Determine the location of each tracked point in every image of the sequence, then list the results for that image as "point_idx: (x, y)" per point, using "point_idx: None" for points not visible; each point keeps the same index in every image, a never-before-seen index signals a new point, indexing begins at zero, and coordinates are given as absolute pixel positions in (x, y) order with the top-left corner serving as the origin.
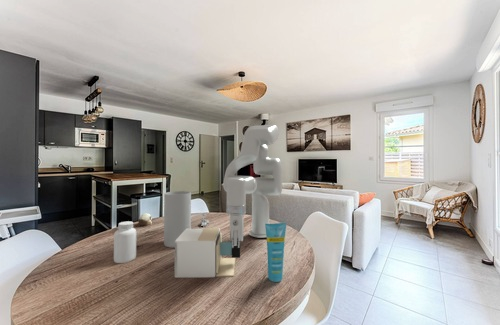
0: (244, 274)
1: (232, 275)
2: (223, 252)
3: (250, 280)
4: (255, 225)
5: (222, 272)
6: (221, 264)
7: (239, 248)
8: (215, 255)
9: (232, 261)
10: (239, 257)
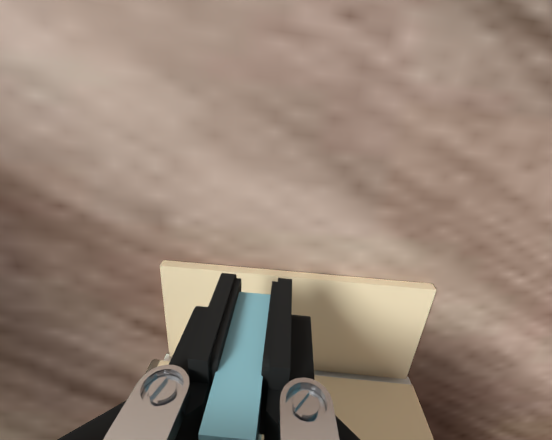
0: (425, 207)
1: (432, 293)
2: (261, 434)
3: (534, 167)
4: None
5: (382, 350)
6: None
7: (290, 360)
8: None
9: None
10: (291, 280)
